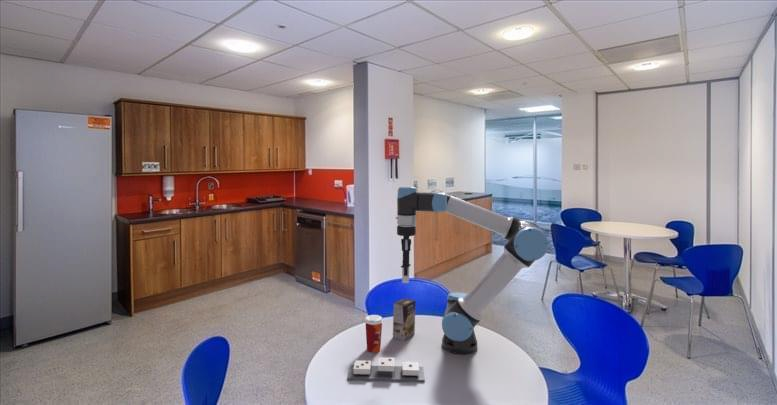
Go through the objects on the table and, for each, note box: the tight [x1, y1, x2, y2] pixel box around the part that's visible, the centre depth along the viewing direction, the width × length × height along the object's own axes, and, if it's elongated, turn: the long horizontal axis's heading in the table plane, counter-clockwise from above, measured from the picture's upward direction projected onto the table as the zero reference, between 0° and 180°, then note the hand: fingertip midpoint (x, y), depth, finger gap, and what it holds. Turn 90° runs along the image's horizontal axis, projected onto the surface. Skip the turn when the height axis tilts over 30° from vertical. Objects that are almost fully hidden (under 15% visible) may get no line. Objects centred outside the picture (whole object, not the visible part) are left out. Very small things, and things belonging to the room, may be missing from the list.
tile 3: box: [353, 359, 372, 374], centre depth 144 cm, size 6×6×2 cm
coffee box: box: [392, 297, 416, 341], centre depth 176 cm, size 9×6×16 cm
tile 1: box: [401, 361, 420, 376], centre depth 144 cm, size 6×6×2 cm
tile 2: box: [377, 356, 396, 371], centre depth 144 cm, size 6×6×2 cm
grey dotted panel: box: [347, 364, 426, 383], centre depth 144 cm, size 28×9×1 cm, turn 88°
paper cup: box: [364, 314, 384, 354], centre depth 162 cm, size 8×8×14 cm
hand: (405, 282), depth 157 cm, fingers closed
